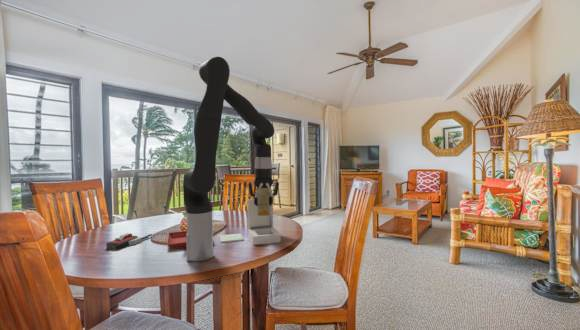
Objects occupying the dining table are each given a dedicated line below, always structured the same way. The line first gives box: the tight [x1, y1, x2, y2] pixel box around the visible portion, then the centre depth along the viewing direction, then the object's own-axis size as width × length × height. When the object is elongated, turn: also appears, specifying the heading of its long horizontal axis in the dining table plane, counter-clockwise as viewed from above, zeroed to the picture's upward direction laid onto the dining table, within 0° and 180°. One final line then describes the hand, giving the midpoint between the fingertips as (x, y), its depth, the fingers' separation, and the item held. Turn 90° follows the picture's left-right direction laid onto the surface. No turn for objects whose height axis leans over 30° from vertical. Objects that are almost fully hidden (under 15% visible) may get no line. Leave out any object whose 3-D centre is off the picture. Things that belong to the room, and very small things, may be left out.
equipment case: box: [246, 198, 281, 246], centre depth 125 cm, size 12×15×18 cm
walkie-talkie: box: [105, 232, 153, 250], centre depth 122 cm, size 9×4×20 cm
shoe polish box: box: [256, 187, 270, 216], centre depth 122 cm, size 5×5×12 cm
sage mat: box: [219, 233, 244, 244], centre depth 126 cm, size 10×10×1 cm
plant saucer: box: [166, 230, 187, 250], centre depth 122 cm, size 18×18×3 cm
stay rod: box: [269, 205, 272, 227], centre depth 131 cm, size 1×2×11 cm, turn 17°
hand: (263, 205), depth 122 cm, fingers closed on shoe polish box, 5 cm apart
